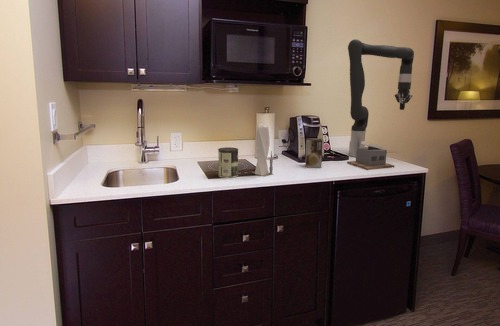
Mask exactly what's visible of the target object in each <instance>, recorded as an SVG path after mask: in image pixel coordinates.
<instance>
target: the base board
mask: <svg viewBox="0 0 500 326" xmlns="http://www.w3.org/2000/svg"><path fill="white" fill-rule="evenodd" d="M346 163H347V165H351V166H353V167H356V168H359V169H362V170H366V171H371V170H381V169H392V167H393V168H395V167H396V166H395V165H394V164H391V163H387V162H386V165H378V166H367V165H363V164H360V163H357V162H356V160H350V161H347V162H346Z"/></svg>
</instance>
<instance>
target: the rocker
mask: <svg viewBox="0 0 500 326" xmlns="http://www.w3.org/2000/svg"><path fill="white" fill-rule="evenodd" d="M361 144H364V145H365V146H367V147H368V146H370V147H374V148H378V149H384V147H383V146H381V145H378V144H374V143H372V142H368V141H366V140H365V141H362V143H361Z"/></svg>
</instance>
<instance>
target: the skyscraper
mask: <svg viewBox="0 0 500 326" xmlns="http://www.w3.org/2000/svg"><path fill="white" fill-rule="evenodd" d="M256 125H257V126H256V133H255V139H254V146H255V147H254V148H255V156H256V160H257V161H256V165H255V172H254V175H256V176H260V177H265V178H266V177H269V176H272V175H274V173H273V169H274V168H273V160H274V159H273V152H272V151H270V130H269V126H268V125H267V124H266V123H265V122H261V121H260V122H257V123H256ZM269 151H270V159H269V167H268V161H267V159H268V157H269V156H268V155H269Z"/></svg>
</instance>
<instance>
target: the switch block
mask: <svg viewBox="0 0 500 326" xmlns="http://www.w3.org/2000/svg"><path fill="white" fill-rule="evenodd" d="M387 152H388V150H387V149H385V148H382V149H378V148H374V147H371V146H367V147H366V146H364V147H361V148H357V153H356V157H355V161H356V162H357V163H360V164H363V165H367V166H378V165H386V163H387Z"/></svg>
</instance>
